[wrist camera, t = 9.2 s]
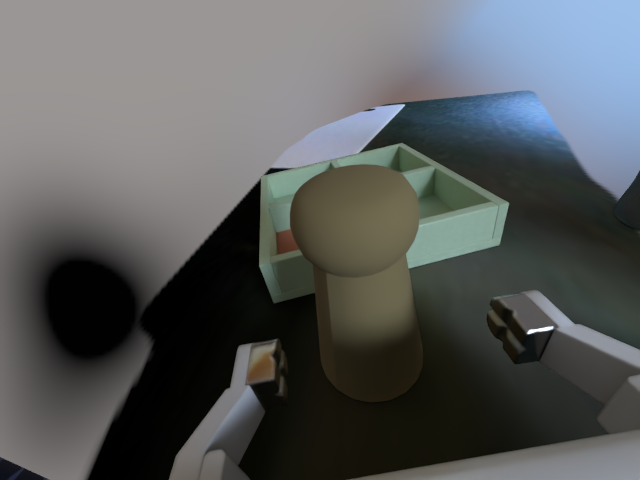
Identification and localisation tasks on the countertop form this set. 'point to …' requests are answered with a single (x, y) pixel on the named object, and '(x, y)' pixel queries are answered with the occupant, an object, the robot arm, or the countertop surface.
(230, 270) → the countertop surface
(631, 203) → the beer glass
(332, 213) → the cork
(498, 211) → the compartment tray
